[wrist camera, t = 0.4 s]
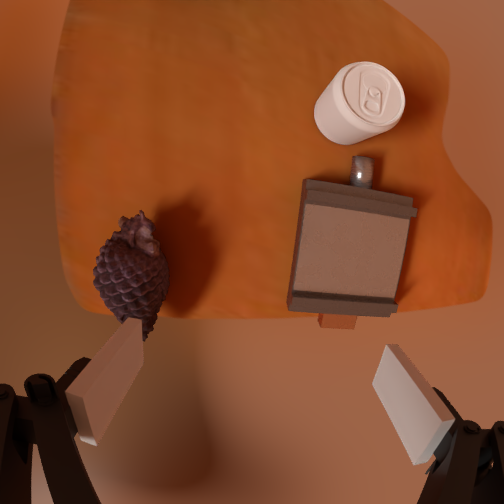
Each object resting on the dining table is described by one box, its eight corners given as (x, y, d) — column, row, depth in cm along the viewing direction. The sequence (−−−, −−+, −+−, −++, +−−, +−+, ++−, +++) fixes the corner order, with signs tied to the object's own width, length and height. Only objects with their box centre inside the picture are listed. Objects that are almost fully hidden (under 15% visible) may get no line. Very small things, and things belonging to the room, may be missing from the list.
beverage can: (373, 100, 36) (412, 74, 24) (364, 152, 37) (404, 141, 26) (318, 83, 35) (342, 47, 24) (307, 136, 37) (329, 115, 25)
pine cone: (179, 328, 43) (161, 363, 33) (119, 321, 43) (91, 352, 33) (177, 207, 39) (153, 214, 30) (112, 206, 39) (75, 213, 30)
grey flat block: (306, 149, 38) (312, 145, 33) (406, 169, 38) (421, 168, 33) (283, 317, 42) (286, 332, 38) (378, 323, 43) (389, 336, 38)
